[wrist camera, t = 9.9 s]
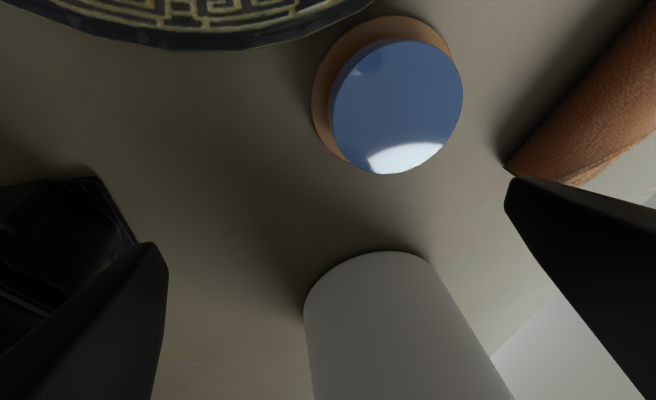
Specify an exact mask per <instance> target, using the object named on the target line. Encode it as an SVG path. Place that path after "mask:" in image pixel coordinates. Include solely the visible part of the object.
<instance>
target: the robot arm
mask: <svg viewBox="0 0 656 400" xmlns="http://www.w3.org/2000/svg"><path fill="white" fill-rule="evenodd" d="M88 184H92V185H94V186H95V187H90V186H89V185H88ZM504 210H505V212H506V214H507V215H508V217H509V219H510V220H511V222H512V223H513V225H514V227H515V228H516V230H517V231H518V233H519V234H520V236H521V238H522V239H523V241H524V242H525V244H526V245H527V247H528V249H529V250H530V252H531V253H532V255H533V256H534V258H535V259H536V260H537V262H538V263H539V264H540V266H541V267H542V268H543V270H544V271H545V272H546V273H547V275H548V276H549V277H550V278H551V280H552V281H553V282H554V284H555V285H556V286H557V287H558V289H559V290H560V291H561V293H562V294H563V295H564V296H565V298H566V299H567V300H568V301H569V303H570V304H571V305H572V307H573V308H574V309H575V310H576V311H577V313H578V314H579V315H580V317H581V318H582V319H583V321H584V322H585V323H586V324H587V326H588V327H589V328H590V329H591V331H592V332H593V333H594V335H595V336H596V337H597V338H598V340H599V341H600V342H601V343H602V345H603V346H604V347H605V349H606V350H607V351H608V352H609V354H610V355H611V356H612V357H613V359H614V360H615V361H616V363H617V364H618V365H619V366H620V368H621V369H622V370H623V371H624V373H625V374H626V375H627V376H628V378H629V379H630V380H631V382H632V383H633V384H634V386H635V387H636V388H637V389H638V390H639V392H640V393H641V394H642V396H643V397H644V398H645V400H656V209H652V208H649V207H645V206H642V205H638V204H634V203H631V202H627V201H623V200H620V199H616V198H612V197H609V196H605V195H601V194H598V193H594V192H590V191H587V190H583V189H579V188H576V187H572V186H569V185H565V184H561V183H558V182H554V181H550V180H547V179H543V178H539V177H536V176H532V175H524V176H518V177H514V178H513V179H512V180H511V181H510V183H509V187H508V190H507V193H506V197H505V200H504ZM168 280H169V271H168V267H167V264H166V262H165V261H164V259H163V257H162V255H161V253H160V251H159V249H158V247H157V245H156V244H155V243H154V242H144V243H139V244H138V242H137V240H136V239H135V237H134V235H133V234H132V232H131V230H130V229H129V227H128V225H127V224H126V222H125V220H124V218H123V217H122V215H121V213H120V212H119V210H118V208H117V207H116V205H115V203H114V202H113V200H112V198H111V197H110V195H109V193H108V191H107V190H106V188H105V186H104V185H103V183H102V182H101V180H100V179H98V178H96V177H93V176H86V177H80V178H74V179H68V180H62V181H55V182H54V181H52V180H47V179H46V180H40V181H34V182H27V183H21V184H15V185H9V186H2V187H0V400H150V399H151V394H152V389H153V384H154V380H155V375H156V370H157V365H158V360H159V356H160V351H161V346H162V340H163V335H164V326H165V315H166V303H167V292H168Z"/></svg>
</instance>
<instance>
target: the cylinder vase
mask: <svg viewBox="0 0 656 400" xmlns="http://www.w3.org/2000/svg"><path fill="white" fill-rule="evenodd" d="M303 319H304V326H305V334H306V341H307V349H308V356H309V363H310V371H311V378H312V385H313V393H314V400H515V399H514V398H513V396H512V394H511V393H510V391H509V389H508V388H507V386H506V384H505V383H504V381H503V379H502V378H501V376H500V375H499V373H498V371H497V370H496V368H495V367H494V365H493V363H492V362H491V360H490V358H489V357H488V355H487V353H486V352H485V350H484V349H483V347H482V345H481V344H480V342H479V340H478V339H477V337H476V335H475V334H474V332H473V331H472V329H471V327H470V326H469V324H468V322H467V321H466V319H465V318H464V316H463V314H462V313H461V311H460V309H459V308H458V306H457V305H456V303H455V301H454V300H453V298H452V296H451V295H450V293H449V291H448V290H447V288H446V287H445V285H444V283H443V282H442V280H441V278H440V277H439V275H438V274H437V272H436V271H435V269H434V268H433V267H432V266H431V265H430V264H429V263H428V262H426V261H425V260H423V259H422V258H420V257H418V256H415V255H412V254H409V253H405V252H399V251H379V252H372V253H368V254H364V255H360V256H357V257H354V258H352V259H349V260H347V261H345V262H343V263H341V264H339V265H337V266H336V267H334V268H333V269H331V270H330V271H328V272H327V273H326V274H325V275H324V276H322V277H321V278H320V279H319V280H318V281H317V282H316V284H315V285H314V286H313V288H312V289H311V291H310V292H309V294H308V296H307V298H306V301H305V304H304V310H303Z"/></svg>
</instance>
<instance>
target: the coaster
mask: <svg viewBox="0 0 656 400" xmlns="http://www.w3.org/2000/svg"><path fill="white" fill-rule="evenodd" d="M397 36H403V37H411V38H414V39H418V40H421V41H423V42H426V43H429V44H431V45H433V46H435V47H437V48H439V49H440V50H442V51H443V52H444V53H445V54H446V55H447V56H448V57H449V58H450V59H451V60H452V62H453V59H452V56H451V53H450V51H449V49H448V47H447V45H446V43H445V42H444V40H443V39H442V38H441V36H440V35H439V34H438V33H437V32H436V31H435V30H434V29H432V28H431V27H430V26H428V25H427V24H425V23H423V22H421V21H419V20H417V19H413V18H410V17H406V16H398V15H386V16H380V17H375V18H371V19H369V20H366V21H363V22H361V23H359V24H357V25H355V26H354V27H352V28H351V29H349V30H348V31H346V32H345V33H344V34H342V35H341V36H340V37H339V38H338V39H337V40H336V41H335V42H334V43H333V44H332V46H331V47H330V48H329V49H328V51H327V52H326V54H325V55H324V57H323V58H322V60H321V62H320V64H319V66H318V68H317V70H316V73H315V76H314V79H313V84H312V89H311V98H310V104H311V114H312V119H313V122H314V125H315V128H316V131H317V133H318V135H319V137H320V139H321V140H322V141H323V143H324V144H325V146H326V147H327V148H328V149H329V150H330V151H331V152H332V153H333V154H335V155H336V156H337V157H339V158H341V159H342V160H344V161H346V162H348V163H351V162H349V161H348V160H347V159H346V158H345V156H344V155H343V154H342V152H341V151H340V149H339V148H338V146H337V144H336V142H335V139H334V137H333V135H332V133H331V130H330V127H329V123H328V115H327V107H328V99H329V95H330V91H331V88H332V85H333V82H334V81H335V79H336V77H337V75H338V73H339V72H340V70H341V69H342V67H343V66H344V65H345V63H346V62H347V61H348V60H349V59H350V58H351V57H352V56H353V55H354V54H355V53H356V52H358V51H359V50H361V49H362V48H363V47H365V46H367V45H369V44H371V43H373V42H375V41H378V40H380V39H384V38H388V37H397ZM453 63H454V62H453ZM351 164H352V163H351Z"/></svg>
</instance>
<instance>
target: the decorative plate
mask: <svg viewBox="0 0 656 400" xmlns="http://www.w3.org/2000/svg"><path fill="white" fill-rule="evenodd" d="M374 1H375V0H0V2H2V3H4V4H6V5H8V6H11V7H13V8H16V9H19V10H21V11H24V12H27V13H30V14H32V15H35V16H38V17H41V18H43V19H46V20H49V21H51V22H54V23H57V24H60V25H62V26H65V27H68V28H71V29H73V30H76V31H79V32H81V33H84V34H87V35H90V36H92V37H95V38H99V39H105V40H110V41H115V42H121V43H126V44H131V45H136V46H142V47H147V48H152V49H158V50H163V51H168V52H174V53H209V52H245V51H249V50H254V49H258V48H262V47H267V46H271V45H276V44H280V43H285V42H289V41H294V40H298V39H302V38H304V37H307V36H309V35H311V34H313V33H315V32H317V31H319V30H321V29H324V28H326V27H328V26H330V25H332V24H334V23H336V22H339V21H341V20H343V19H345V18H347V17H349V16H351V15H353V14H356V13H358V12H360V11H362V10H363V9H364V8H366V7H367V6H368V5H370V4H371V3H372V2H374Z"/></svg>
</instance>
